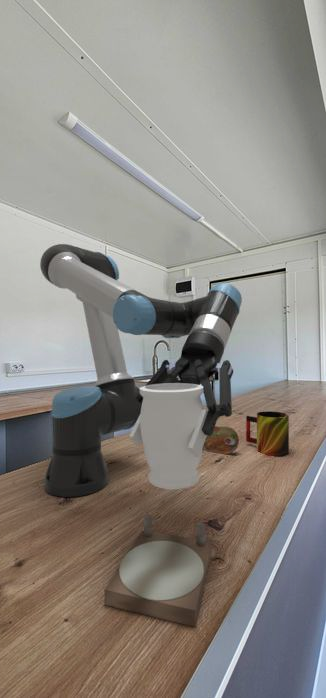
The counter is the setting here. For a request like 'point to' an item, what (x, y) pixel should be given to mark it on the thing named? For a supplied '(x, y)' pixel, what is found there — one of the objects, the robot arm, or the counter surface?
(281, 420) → the mug
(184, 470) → the jar
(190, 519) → the counter surface
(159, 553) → the seat board
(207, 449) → the tin
